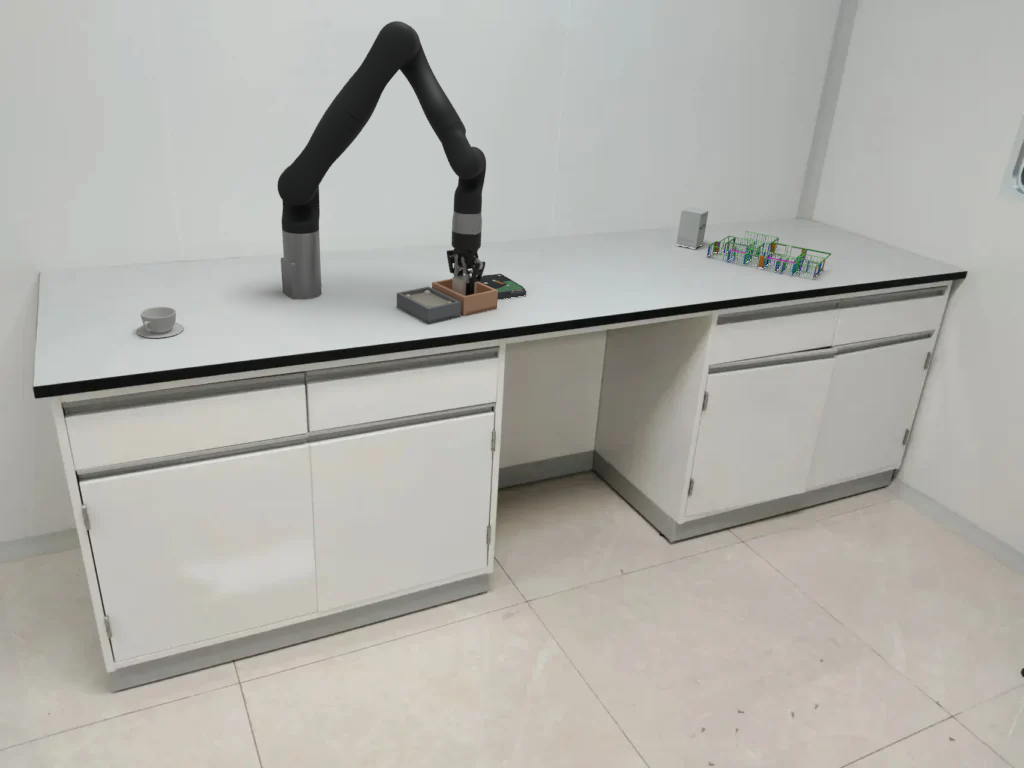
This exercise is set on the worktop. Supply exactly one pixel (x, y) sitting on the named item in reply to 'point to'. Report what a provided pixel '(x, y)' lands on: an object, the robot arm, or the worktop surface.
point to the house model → (763, 258)
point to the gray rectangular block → (461, 285)
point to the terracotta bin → (470, 297)
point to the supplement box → (692, 227)
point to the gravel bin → (428, 305)
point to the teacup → (159, 323)
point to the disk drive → (503, 286)
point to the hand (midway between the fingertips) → (464, 293)
